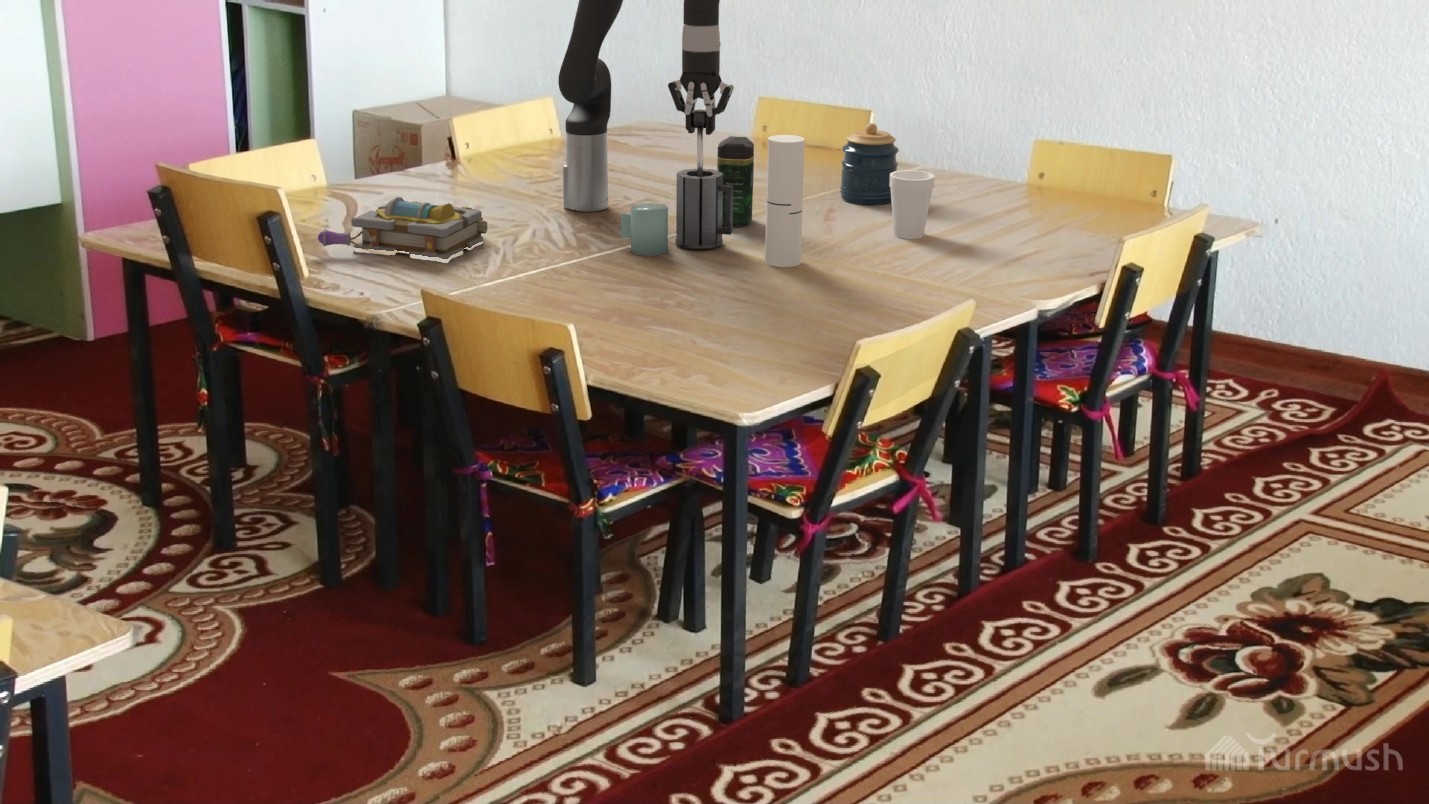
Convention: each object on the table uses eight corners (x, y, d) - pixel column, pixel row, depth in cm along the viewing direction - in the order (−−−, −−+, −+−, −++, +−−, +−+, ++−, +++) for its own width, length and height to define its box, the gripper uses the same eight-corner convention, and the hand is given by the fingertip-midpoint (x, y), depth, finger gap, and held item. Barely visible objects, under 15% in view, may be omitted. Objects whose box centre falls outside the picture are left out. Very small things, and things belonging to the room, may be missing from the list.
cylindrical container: (763, 257, 319) (766, 134, 310) (798, 257, 320) (802, 134, 311) (767, 267, 313) (770, 142, 304) (802, 266, 313) (806, 142, 304)
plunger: (687, 197, 323) (687, 112, 317) (693, 193, 326) (694, 108, 320) (705, 199, 322) (706, 113, 315) (712, 195, 325) (713, 110, 319)
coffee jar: (750, 228, 340) (752, 143, 334) (713, 227, 341) (715, 142, 334) (754, 217, 349) (756, 134, 343) (718, 216, 350) (720, 133, 343)
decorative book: (382, 230, 338) (379, 182, 335) (493, 241, 330) (490, 192, 326) (316, 259, 316) (311, 207, 312) (432, 272, 308) (429, 219, 304)
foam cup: (935, 231, 340) (938, 172, 335) (925, 242, 332) (929, 181, 327) (891, 227, 343) (895, 168, 338) (881, 238, 334) (884, 177, 330)
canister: (905, 197, 369) (909, 122, 362) (880, 208, 358) (884, 131, 352) (856, 189, 375) (859, 115, 369) (829, 200, 365) (833, 124, 358)
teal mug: (615, 252, 322) (614, 209, 318) (629, 243, 328) (628, 200, 325) (659, 257, 319) (659, 214, 315) (673, 247, 325) (673, 205, 322)
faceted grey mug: (668, 248, 325) (668, 176, 320) (685, 236, 334) (685, 166, 328) (723, 254, 321) (724, 181, 316) (738, 242, 330) (739, 171, 325)
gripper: (661, 47, 312) (661, 134, 318) (728, 52, 308) (727, 139, 314) (674, 42, 319) (674, 127, 325) (740, 46, 314) (739, 132, 321)
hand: (700, 132), depth 319 cm, fingers closed on plunger, 3 cm apart
